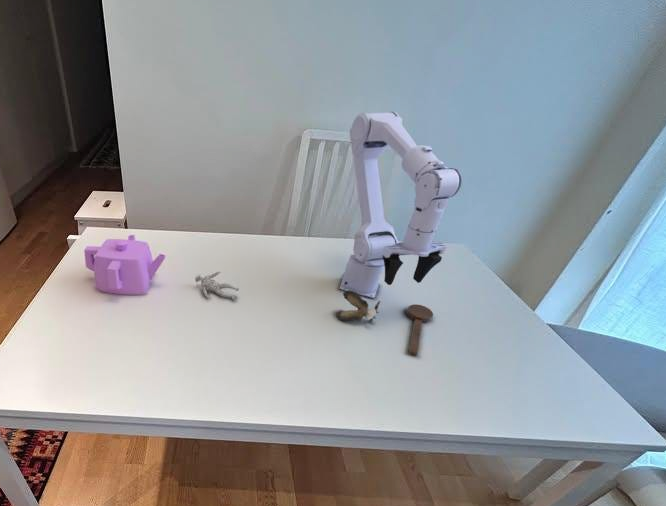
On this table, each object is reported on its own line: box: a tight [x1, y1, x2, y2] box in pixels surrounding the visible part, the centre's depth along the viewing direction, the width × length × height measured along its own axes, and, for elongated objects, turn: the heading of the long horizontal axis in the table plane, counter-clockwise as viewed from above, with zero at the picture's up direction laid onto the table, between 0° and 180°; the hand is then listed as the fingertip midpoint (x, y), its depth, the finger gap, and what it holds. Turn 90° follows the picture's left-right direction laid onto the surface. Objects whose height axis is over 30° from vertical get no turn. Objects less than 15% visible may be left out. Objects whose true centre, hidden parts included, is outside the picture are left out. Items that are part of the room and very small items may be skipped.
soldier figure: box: [194, 271, 240, 300], centre depth 104 cm, size 8×5×12 cm
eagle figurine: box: [335, 290, 381, 323], centre depth 96 cm, size 8×7×9 cm
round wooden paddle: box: [405, 303, 434, 357], centre depth 95 cm, size 20×6×1 cm, turn 153°
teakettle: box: [83, 234, 167, 296], centre depth 104 cm, size 17×17×12 cm
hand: (402, 281), depth 94 cm, fingers open, 7 cm apart
